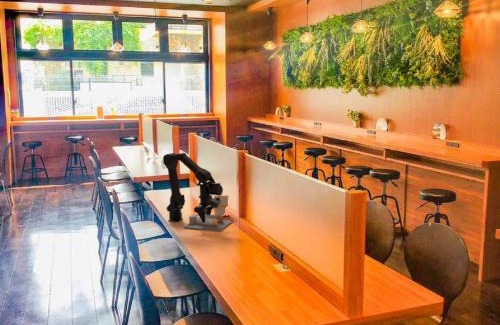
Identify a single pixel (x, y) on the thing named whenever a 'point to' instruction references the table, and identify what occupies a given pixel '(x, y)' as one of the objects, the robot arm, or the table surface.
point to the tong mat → (196, 226)
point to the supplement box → (221, 204)
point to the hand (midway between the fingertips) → (206, 220)
